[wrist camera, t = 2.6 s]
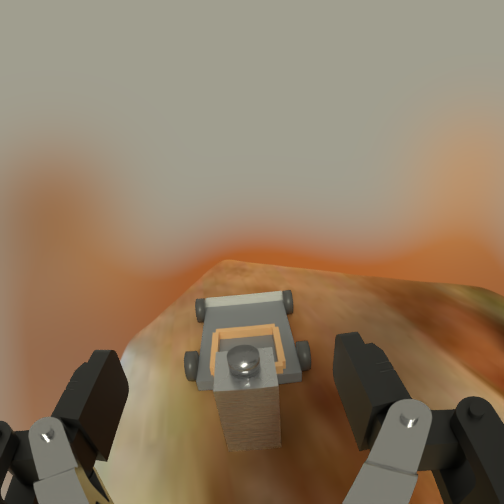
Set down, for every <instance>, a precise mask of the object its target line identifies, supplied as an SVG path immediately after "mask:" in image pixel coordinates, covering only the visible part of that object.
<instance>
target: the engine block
mask: <svg viewBox="0 0 504 504" xmlns="http://www.w3.org/2000/svg"><path fill="white" fill-rule="evenodd" d="M213 392H214V396H215V401H216V405H217V409H218V412H219V416H220V420H221V424H222V428H223V432H224V435H225V439H226V443H227V446H228V450H229V452H232V451H248V450H260V449H270V448H279V447H281V428H280V405H279V385H278V379H277V373H276V368H275V362H274V356H273V350H272V347H267V348H258V349H257V348H255V347H254V346H251V345H239V346H235V347H233V348H232V349H230V350H229V351H223V352H216V357H215V372H214V388H213Z"/></svg>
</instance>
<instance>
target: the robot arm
mask: <svg viewBox="0 0 504 504" xmlns="http://www.w3.org/2000/svg"><path fill="white" fill-rule="evenodd" d="M333 376H334V381H335V384H336V387H337V390H338V393H339V395H340V398H341V401H342V403H343V406H344V409H345V412H346V414H347V417H348V420H349V423H350V426H351V428H352V431H353V434H354V437H355V440H356V443H357V445H358V448H359V451H362V450H366V449H370V451H371V452H370V454H369V456H368V458H367V460H366V461H365V462H364V464H363V466H362V468H361V470H360V472H359V474H358V476H357V477H356V479H355V481H354V483H353V485H352V487H351V489H350V490H349V492H348V494H347V496H346V498H345V499H344V501H343V503H342V504H408V503H409V501H410V498H411V495H412V493H413V490H414V487H415V485H416V482H417V478H418V474H416V473H417V471H426V470H431V471H432V473H433V476H434V478H435V481H436V484H437V486H438V489H439V491H440V494H441V497H442V500H443V502H444V504H504V424H503V422H502V421H501V419H500V418H499V416H498V414H497V413H496V411H495V410H494V408H493V407H492V405H491V404H490V403H489V402H488V401H486V400H485V399H483V398H480V397H475V396H472V397H467V398H464V399H463V400H461V401H460V402H459V404H458V405H457V407H456V409H452V410H430V409H429V408H428V406H427V405H425V404H424V403H422V402H420V401H418V400H414V399H412V398H411V397H410V395H409V393H408V391H407V390H406V388H405V386H404V385H403V383H402V381H401V380H400V378H399V376H398V374H397V373H396V371H395V370H394V369H393V366H392V365H391V363H390V362H389V360H388V358H387V356H386V355H385V353H384V351H383V350H382V349H380V348H379V347H377V346H376V345H375V344H373V343H369V344H365V343H364V342H363V340H362V338H361V336H360V335H359V333H358V332H351V333H344V334H338V335H336V339H335V350H334V361H333ZM128 393H129V386H128V381H127V378H126V376H125V373H124V371H123V368H122V366H121V363H120V361H119V358H118V355H117V353H116V352H115V351H114V350H95V351H94V352H93V354H92V355H91V357H90V359H89V361H88V363H86V362H85V363H83V364H82V365H81V366H80V367H79V368H78V369H77V370H76V371H75V372H74V374H73V376H72V377H71V379H70V382H69V383H68V385H67V387H66V390H64V392H63V394H62V396H61V398H60V400H59V402H58V404H57V405H56V407H55V410H54V411H53V413H52V415H51V417H45V418H42V419H39V420H38V421H36V422H35V423H34V424H33V425H32V426H31V428H30V430H26V431H15V432H14V431H13V430H12V429H11V427H10V426H9V425H8V424H7V423H6V422H4V421H0V504H114V503H113V501H112V499H111V497H110V496H109V494H108V492H107V490H106V488H105V486H104V484H103V482H102V480H101V478H100V476H99V474H98V472H97V470H96V469H95V467H94V464H95V460H99V461H106V462H107V460H108V457H109V454H110V450H111V447H112V444H113V440H114V437H115V434H116V431H117V428H118V425H119V421H120V418H121V415H122V412H123V409H124V406H125V403H126V400H127V397H128ZM7 471H9V472H10V473H11V474H12V475H13V477H12V480H11V483H10V485H9V488H8V491H7V494H6V497H5V500H3V499H2V497H1V487H2V484H3V481H4V478H5V476H6V473H7Z"/></svg>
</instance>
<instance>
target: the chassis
mask: <svg viewBox="0 0 504 504" xmlns="http://www.w3.org/2000/svg"><path fill="white" fill-rule="evenodd" d="M195 308H196V317H197V320H198V322H204V327H203V334H202V341H201V349H200V356H199V355H198V352H197V351H188V352H185V356H184V367H185V374H186V377H187V380H188V381H195V380H196V383H197V386H198V390H213V388H214V372H215V357H216V352H223V351H229V350H230V349H232V348H233V347H235V346H239V345H251V346H254V347H255V348H257V349H258V348H267V347H272V350H273V356H274V362H275V368H276V373H277V379H278V384H284V383H292V382H300V381H302V371H305V370H310V369H311V354H310V348H309V344H308V341H299V342H296V348H295V344H294V341H293V337H292V333H291V329H290V326H289V322H288V318H287V315H286V314H291V313H293V299H292V293H291V290H286V291H282V292H281V291H276V292H266V293H256V294H246V295H236V296H225V297H213V298H206V301H205V298H203V299H196V303H195Z"/></svg>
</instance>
